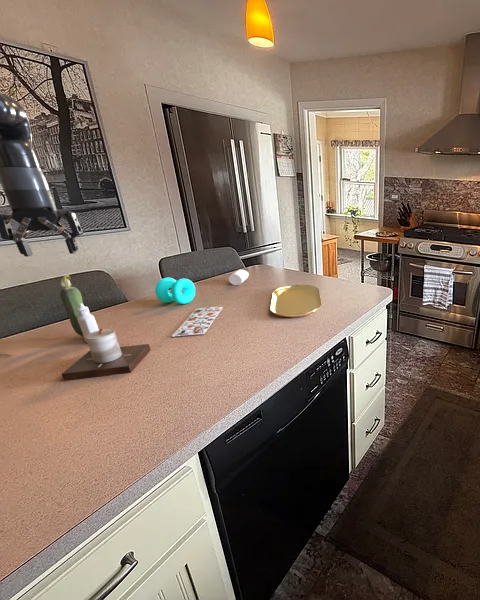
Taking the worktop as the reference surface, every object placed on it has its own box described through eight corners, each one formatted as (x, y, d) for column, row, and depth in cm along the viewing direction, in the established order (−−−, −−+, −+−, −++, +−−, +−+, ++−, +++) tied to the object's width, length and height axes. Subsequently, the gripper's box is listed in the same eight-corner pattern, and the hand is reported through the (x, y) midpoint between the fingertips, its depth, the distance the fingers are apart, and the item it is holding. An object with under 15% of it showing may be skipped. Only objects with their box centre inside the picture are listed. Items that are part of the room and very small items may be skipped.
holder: (64, 380, 79) (60, 373, 79) (92, 356, 90) (90, 349, 90) (131, 372, 83) (128, 365, 82) (150, 349, 94) (148, 343, 93)
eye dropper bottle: (105, 334, 102) (92, 299, 98) (101, 342, 98) (87, 305, 93) (86, 338, 100) (73, 301, 96) (81, 345, 96) (67, 308, 91)
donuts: (180, 308, 123) (173, 283, 120) (157, 306, 125) (150, 281, 121) (199, 299, 132) (194, 275, 129) (177, 297, 134) (171, 274, 130)
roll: (252, 277, 161) (250, 266, 159) (242, 285, 149) (240, 273, 147) (240, 277, 160) (238, 266, 158) (229, 285, 149) (227, 273, 147)
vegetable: (72, 338, 100) (48, 275, 93) (88, 332, 104) (66, 271, 97) (83, 339, 99) (59, 277, 92) (98, 333, 103) (77, 273, 96)
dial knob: (121, 359, 85) (112, 334, 83) (92, 365, 82) (83, 339, 80) (123, 350, 90) (115, 326, 87) (96, 355, 87) (87, 331, 84)
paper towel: (196, 308, 123) (223, 306, 125) (196, 308, 123) (223, 306, 125) (171, 336, 101) (204, 333, 103) (171, 337, 101) (204, 334, 103)
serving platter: (317, 286, 149) (317, 283, 149) (324, 315, 118) (323, 311, 117) (274, 289, 144) (274, 286, 143) (269, 321, 113) (268, 317, 112)
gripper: (-28, 188, 71) (4, 260, 77) (58, 188, 77) (82, 255, 83) (-6, 187, 78) (21, 253, 83) (72, 187, 83) (92, 249, 89)
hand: (51, 254), depth 83 cm, fingers open, 8 cm apart
